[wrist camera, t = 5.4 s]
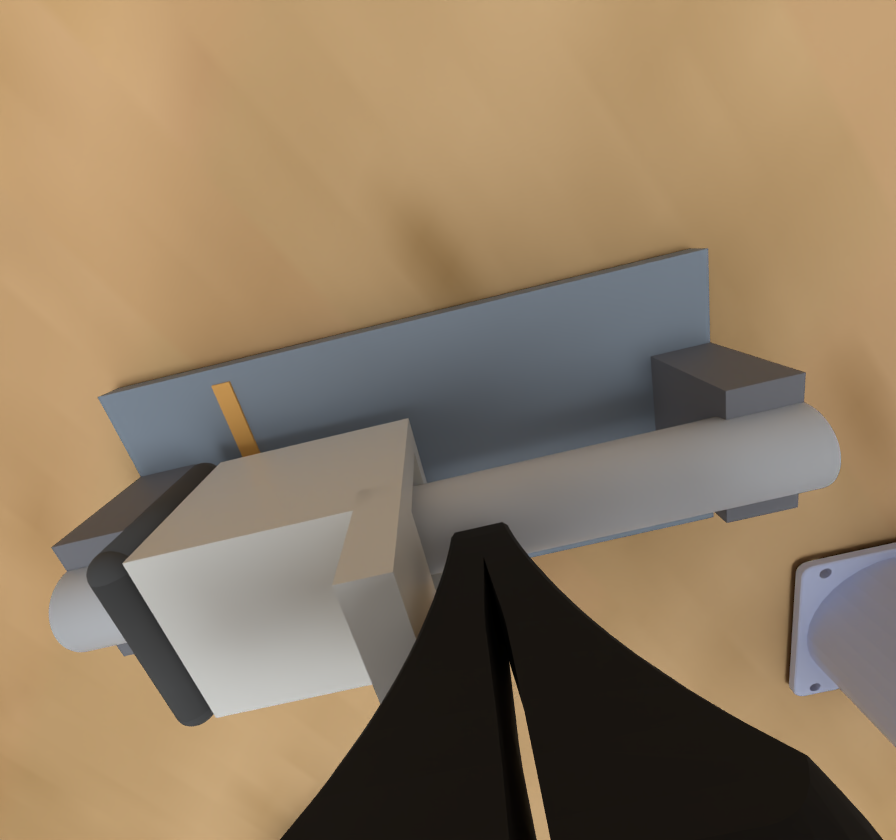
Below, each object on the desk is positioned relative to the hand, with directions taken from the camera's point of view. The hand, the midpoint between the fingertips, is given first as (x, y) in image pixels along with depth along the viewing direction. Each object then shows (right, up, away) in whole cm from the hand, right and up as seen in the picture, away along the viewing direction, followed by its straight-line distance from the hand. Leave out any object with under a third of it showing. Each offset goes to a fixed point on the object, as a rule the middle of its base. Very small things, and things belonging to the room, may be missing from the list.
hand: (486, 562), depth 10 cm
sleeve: (-5, +1, +4) cm, 6 cm away
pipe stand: (-2, +2, +7) cm, 7 cm away
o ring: (-8, 0, +4) cm, 9 cm away
